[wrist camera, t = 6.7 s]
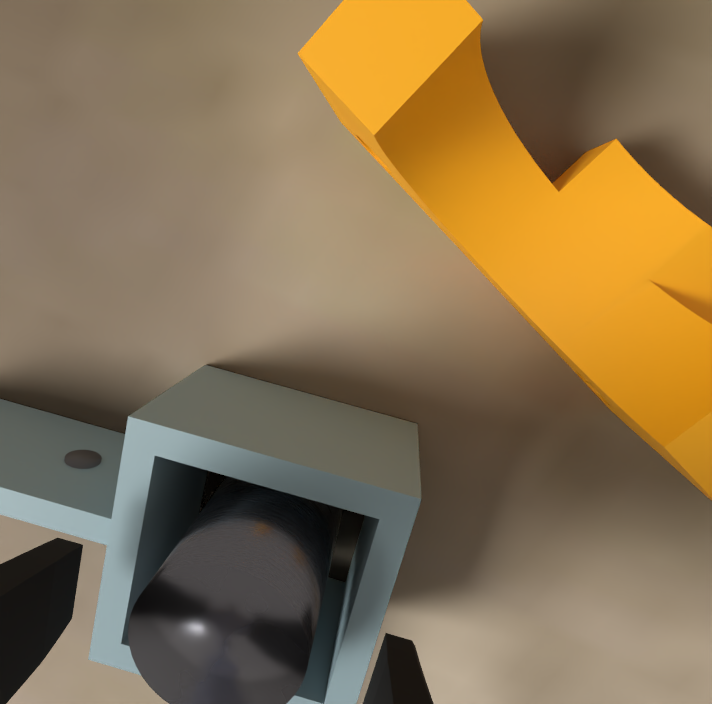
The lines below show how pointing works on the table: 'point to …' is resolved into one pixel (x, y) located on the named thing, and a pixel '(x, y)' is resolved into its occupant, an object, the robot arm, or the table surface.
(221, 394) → the square tube bracket
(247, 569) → the pin
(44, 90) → the table surface
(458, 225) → the pipe clamp
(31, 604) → the robot arm
